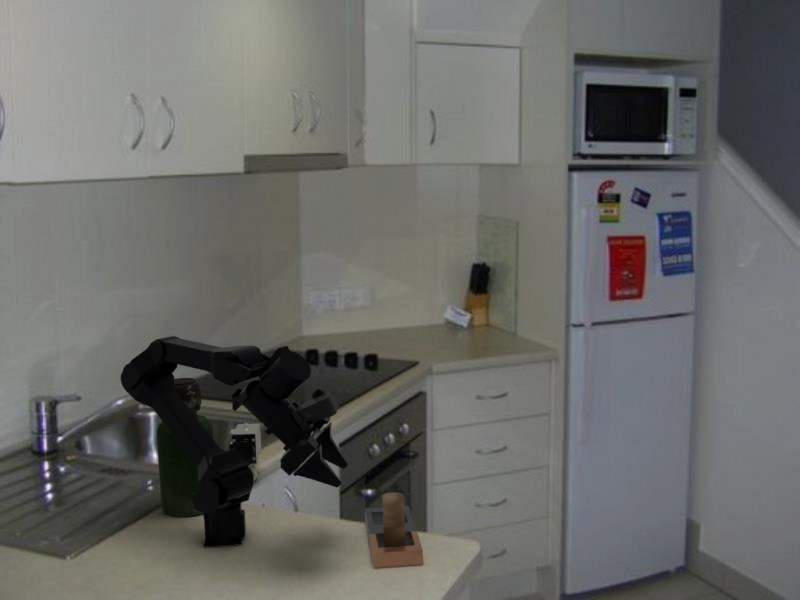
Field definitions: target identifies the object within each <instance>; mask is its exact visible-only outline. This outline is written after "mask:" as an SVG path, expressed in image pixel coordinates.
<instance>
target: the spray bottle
mask: <svg viewBox="0 0 800 600" xmlns="http://www.w3.org/2000/svg"><path fill="white" fill-rule="evenodd" d="M175 391H176V393H177V394H178V395H179V397H180V398H181V399H182V400H183V402H184V403H185V404H186V405H187V407H188V408H189V409H190V411H191V412H192V413H193V414H194V416H195V417H196V418H197V419H198V421H199V422H200V423H201V424H202V426H203V427H204V428H205V430H206V431H207V432H208V433H209V435H210V436H211V437H212V438H213V440H214V441H215V439H214V426H213V424H212V422H211V421H210V420H209V419H208V418H207V417H206V416H204V415H202V414H197V413H198V412H199V411H200V410H201V405H202V390H201V387H200V384H199V381H197V380H196V379H195V378H193V377H178V378H175ZM156 441H157V442H156V445H157V459H158V462H157V463H158V476H159V489H160V490H159V491H160V503H161V510H162V512H164V513H165V514H167V515H170V516H175V517H189V516H194V515H195V516H197V515H201V514H204V513H203V512H199V511H196V510H195V507H194V504H193V500H192V499H193V497H194V496H195V495H196V494H197V492H198V491H199V490H200V489H201V486H200V484H199V482H198V468H197V466H196V464H195V463H194V462H193V460H192V459H191V458H190V456H189V455H188V454H187V452H186V451H185V450H184V449H183V447H182V446H181V445H180V443H179V442H178V441H177V439H176V438H175V437H174V436H173V434H172V433H171V432H170V430H169V429H168V428H167V426H166V425H165V424H164V423H163V421H162V420H161V422H160V423H159V425H158V426H157V429H156Z"/></svg>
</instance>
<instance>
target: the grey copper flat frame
mask: <svg viewBox="0 0 800 600" xmlns="http://www.w3.org/2000/svg"><path fill="white" fill-rule="evenodd" d="M404 509H405V544H406V546H399V547H385V548H384V533H383V506H382V507H370V508H369V507H367V508H364V520H365V521H364V522H365V528H366V533H367V538H368V543H369V544H368V545H369V550H370V556H371V560H372V561H371V562H372V567H373V569H381V568H382V569H383V568H395V567H409V566H422V565H424V555H423V554H424V550H423V546H422V544H421V540H420V537H419V535H418V532H417V527H416V525H415V522H414V519H413V516H412V512H411V509H410V507H409V505H404Z"/></svg>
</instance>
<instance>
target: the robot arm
mask: <svg viewBox="0 0 800 600" xmlns="http://www.w3.org/2000/svg"><path fill="white" fill-rule="evenodd" d="M261 351H262V350H261V348H259V347H258V346H255V345H251V344H250V345H236V346H225V347H224V346H223V347H222V346H216V345H212V344H207V343H203V342H198V341H193V340H188V339H182V338H180V337H178V336H175V335H171V336H170V335H169V336H166V337H160V338H156V339H155V340H153V341H152V342H151V343H150V344H149V345H148V346H147V348H146V349H144V350H143V351H141V353H139V354H138V355H136V356H135V357H133V358H132V359H131V360H130V361H129V362H128V363H127V364H125V366H124V367H123V369H122V372H121V373H120V383H121V386H122V387H123V389H124V390H125V392H126V393H127V394H129V395H130V397H132V399H133V400H135V401H136V402H138V403H140V404H143V405H145V406H146V407H149V408H151V409H152V410H153V411H154V412H155V414H156V415H157V417H159V419H160V420H161V422H162V421H163V423H164V424H165V425H166V426H167V428H168V429H169V430H170V432H171V433H172V434H173V436H174V437H175V438H176V439H177V441H178V442H179V443H180V445H181V446H182V447H183V449H184V450H185V451H186V452H187V454H188V455H189V456H190V458H191V459H192V460H193V462H194V463H195V464H196V466H197V468H198V482H199V484H200V486H201V489H200V490H199V491H198V492H197V494H196V495H195V496H194V497H193V499H192V500H193V504H194V507H195V510H196V511H199V512H203V513H202V514H203V524H204V525H203V526H204V541H203V547H205V548H211V547H212V548H213V547H227V546H239V545H242V544H243V541H244V538H245V537H246V533H247V525H246V524H247V523H246V510H245V509H243V508H242V503H244V502H248V501H249V500H250V496H251V492H252V490H253V488H254V481H253V480H254V478H253V477H254V475H253V473H252V471H251V469H250V468H249V467H248V466H249V465H250V463H248V462H247V461H246V460H245V459H244V458H243V457H242V455H241V454H240V452H239V451H238V450H237V449H235V448H234V449H231V450H230V449H229V450H224V449H223V448H221V447H220V446H219V445H218V443H217V442H216V441H215V439H214V437H213V438H212V437H211V436H210V435H209V433H208V432H207V431H206V430H205V428H204V427H203V426H202V424H201V423H200V422H199V421H198V419H197V418H196V417H195V416H194V414H193V413H192V412H191V411H190V409H189V408H188V407H187V405H186V404H185V403H184V402H183V400H182V399H181V398H180V397H179V395H178V394H177V393H176V391H175V379H176V378H175V376H174V374H173V373H174V372H175V371H176V369H177V368H178V365H179V366H184V367H188V368H191V369H196V370H201V371H205V372H208V373H210V374H211V376H212V377H213V378H214V379H215V380H217V381H218V382H220V383H223V384H225V385H227V386H230V387H231V386H237V385H240V384H243V383H247V382H249V383H248V384H247V385H246V386H245V387H244V388H237V389H236V390H235V391H234V392H233V393H232V394H231V398H232V411H233V412H236V411H237V410H238V409H239V408H240V407H241V406H243V407H244V408H245V409H246V410H247V411H248V412H249V413H250V414H252V415H253V416H254V418H256V419H257V420H258V421H259V423H260V424H262V425H263V426H264V427H265V428H266V429H265V430H264V432H265V433H266V434H267V436H270V435H271V434H273V435H274V436H275V437H276V438H277V439H278V440H279V441H280V442H281V443H282V444H283V445H284V446H283V448H282V449H283V451H285V452H284V453H283V455H282V457H281V458H280V460H279V461H280V469H281V470H282V471H283V472H284V473H285V474H287V475H288V477H289V476H291V475H292V476H294V477H297V476H298V477H301V478H305V479H309V480H312V481H316V482H318V483H322V484H324V485H328V486H331V487H334V488H339V487H340V486H341V485H342V483H343V482H342V480H341V479H340V478H339V476H338V475H337V474H336V473H335V472H334V470H333V469H332V468H331V466H330V464H332V465H335V466H336V467H339V468H340V469H342V470H344V469H345V470H346V468H347V467H348V466H349V463H348V461H347V460H346V458H345V457H344V455H343V453H342V452H341V450H340V449H339V447H338V445H337V444H336V442H335V439H333V436H332V426H333V425H332V422H331V421H330V420H331V418H332V417H333V416H335V415H336V414H337V413H338V410H339V408H340V407H339V405H338V403H337V401H336V399H335V398H336V395H335V394H333V393H332V391H331V390H326V389H325V388H324V387H322V386H320V387H318V388H316V389H314V390H313V392H312V393H311V394H312V395H311V397H312V399H309V400H307V402H306V401H305V402H304V403H303V404H301V403H300V402H299V401H298V400H294V399H292V401H291V400H289V399H288V398H290V397H291V396H292V395H293V394H294V393H296V391H297V390H298V389H299V388H300V387H301V386H302V385H303V384H304V383H305V382H306V381H307V380H308V379H309V378H310V377H311V374H312V368H311V365H310V363H309V362H308V360H307V358H304V357H303V356H302V355H300V353H298V352H296V351H293V350H291V349H290V347H289V346H288V345H283V346H279V347H278V348H276V350H274V352H273V354H272V355H271V356H270V355H268V354H265V353H263V352H261ZM258 379H259V380H258ZM250 381H251V382H250ZM325 425H326V426H325ZM213 439H214V440H213ZM327 462H328V463H330V464H328V463H327Z"/></svg>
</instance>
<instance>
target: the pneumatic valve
mask: <svg viewBox="0 0 800 600" xmlns="http://www.w3.org/2000/svg"><path fill="white" fill-rule="evenodd" d="M261 432H262V431H261V422H250V423H249V422H241V423H237V425H236V427H235V428H234V429H233V428H231V430H230V432H229V433H230V434H229V435H230V436H231V441H230V443H229V446H228V447H229V450H231V449H234V448H235V449H237V450H238V451H239V452H240V454H241V455H242V457H243V458H244V459H245V460H246V461H247V462H248V463H250V465H249V466H248V467H249V468H250V469H251V471H252V473H253V475H254V477H253V478H254V480H253V482H256V481H257V479H258V476H259V473H258V460H259V458H260V455H261V453H262V436H261V435H262V433H261Z"/></svg>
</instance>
